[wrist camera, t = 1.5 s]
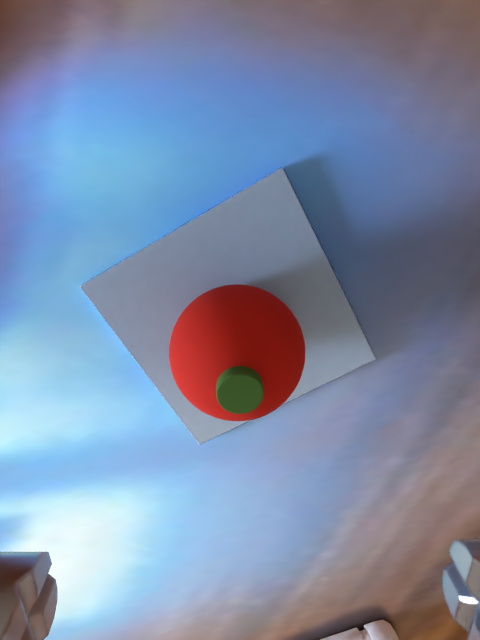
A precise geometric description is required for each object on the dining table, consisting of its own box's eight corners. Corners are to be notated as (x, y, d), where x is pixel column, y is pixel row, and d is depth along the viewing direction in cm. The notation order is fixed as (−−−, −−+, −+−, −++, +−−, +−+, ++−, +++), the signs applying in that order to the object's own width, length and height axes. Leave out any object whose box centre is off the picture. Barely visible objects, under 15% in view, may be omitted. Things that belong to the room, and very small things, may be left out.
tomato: (173, 267, 18) (152, 320, 13) (297, 268, 18) (328, 319, 13) (179, 376, 20) (163, 460, 15) (290, 375, 20) (314, 457, 15)
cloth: (82, 284, 19) (79, 286, 18) (281, 166, 17) (282, 167, 17) (199, 440, 22) (199, 445, 22) (373, 355, 21) (376, 359, 20)
